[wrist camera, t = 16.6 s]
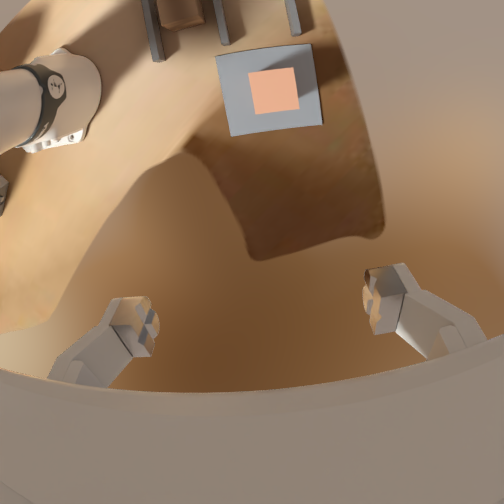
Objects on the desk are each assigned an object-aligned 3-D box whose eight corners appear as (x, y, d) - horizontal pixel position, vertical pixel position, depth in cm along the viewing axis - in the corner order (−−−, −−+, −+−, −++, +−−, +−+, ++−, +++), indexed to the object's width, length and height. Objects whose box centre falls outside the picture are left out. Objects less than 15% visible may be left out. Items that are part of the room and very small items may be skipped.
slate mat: (231, 136, 42) (231, 136, 42) (215, 56, 35) (215, 56, 35) (321, 124, 41) (322, 124, 40) (310, 44, 34) (310, 44, 33)
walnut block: (173, 32, 33) (161, 25, 28) (167, 6, 30) (155, -3, 25) (205, 23, 32) (197, 15, 27) (199, -3, 29) (191, -14, 24)
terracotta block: (255, 107, 39) (255, 114, 30) (250, 75, 37) (247, 73, 27) (289, 102, 39) (299, 108, 30) (284, 71, 36) (293, 67, 27)
